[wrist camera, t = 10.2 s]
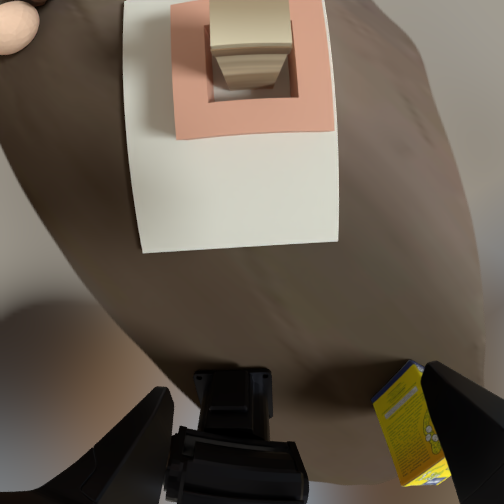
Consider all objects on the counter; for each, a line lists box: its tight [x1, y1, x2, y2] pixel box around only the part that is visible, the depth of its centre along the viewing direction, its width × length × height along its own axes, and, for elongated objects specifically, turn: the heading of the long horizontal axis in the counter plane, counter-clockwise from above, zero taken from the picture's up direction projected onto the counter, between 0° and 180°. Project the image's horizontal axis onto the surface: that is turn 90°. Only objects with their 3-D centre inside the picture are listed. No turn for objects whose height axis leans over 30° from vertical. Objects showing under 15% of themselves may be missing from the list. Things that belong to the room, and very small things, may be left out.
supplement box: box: [371, 360, 451, 486], centre depth 20 cm, size 6×6×11 cm
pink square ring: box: [170, 0, 335, 140], centre depth 14 cm, size 8×8×3 cm
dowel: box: [209, 0, 292, 91], centre depth 11 cm, size 3×3×9 cm
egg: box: [0, 1, 39, 55], centre depth 11 cm, size 4×4×6 cm
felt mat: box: [123, 0, 339, 253], centre depth 17 cm, size 18×13×1 cm
